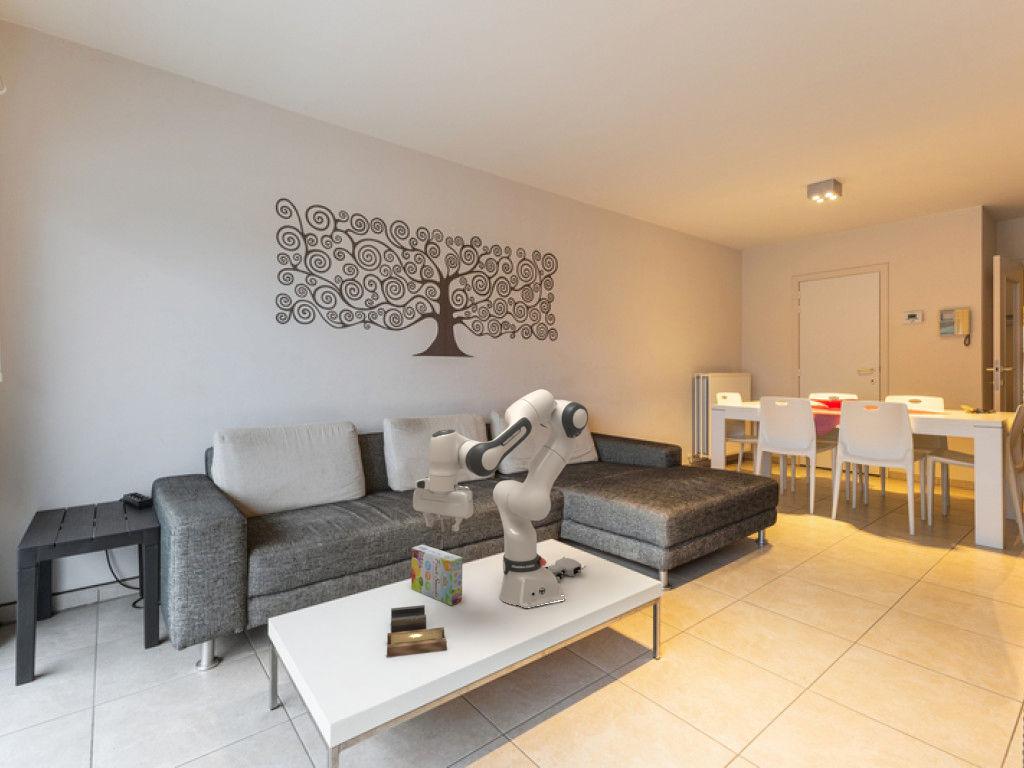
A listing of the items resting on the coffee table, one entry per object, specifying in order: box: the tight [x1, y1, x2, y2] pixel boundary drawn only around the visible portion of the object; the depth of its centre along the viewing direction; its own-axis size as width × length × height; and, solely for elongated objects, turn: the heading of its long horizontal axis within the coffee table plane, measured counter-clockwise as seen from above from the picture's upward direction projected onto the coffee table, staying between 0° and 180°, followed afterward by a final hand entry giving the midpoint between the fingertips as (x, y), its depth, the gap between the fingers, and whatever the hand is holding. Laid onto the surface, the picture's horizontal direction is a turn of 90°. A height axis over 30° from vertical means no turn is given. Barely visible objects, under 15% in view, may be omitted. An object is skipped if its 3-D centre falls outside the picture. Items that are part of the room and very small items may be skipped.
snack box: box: [410, 543, 464, 606], centre depth 175 cm, size 21×6×15 cm, turn 50°
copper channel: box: [386, 626, 448, 658], centre depth 142 cm, size 16×8×2 cm, turn 103°
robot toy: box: [544, 556, 587, 581], centre depth 193 cm, size 12×4×15 cm
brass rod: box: [390, 629, 443, 645], centre depth 142 cm, size 14×4×4 cm, turn 103°
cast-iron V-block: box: [390, 604, 427, 633], centre depth 151 cm, size 10×8×5 cm
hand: (442, 528), depth 155 cm, fingers open, 8 cm apart
